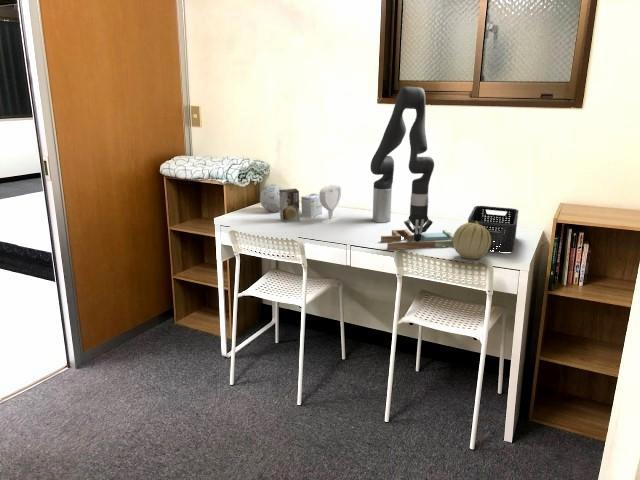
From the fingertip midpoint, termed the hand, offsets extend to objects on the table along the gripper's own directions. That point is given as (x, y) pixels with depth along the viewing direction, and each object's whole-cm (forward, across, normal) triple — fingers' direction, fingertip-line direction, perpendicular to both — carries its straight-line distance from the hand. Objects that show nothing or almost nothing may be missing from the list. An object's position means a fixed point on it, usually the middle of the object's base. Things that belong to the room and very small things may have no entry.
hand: (417, 241), depth 223 cm
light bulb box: (+1, +39, -60) cm, 71 cm away
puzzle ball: (+1, +59, -70) cm, 92 cm away
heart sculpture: (+1, +31, -46) cm, 56 cm away
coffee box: (+1, +52, -49) cm, 72 cm away
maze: (+1, 0, -4) cm, 5 cm away
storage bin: (+2, -33, +3) cm, 33 cm away
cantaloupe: (+1, -15, +21) cm, 26 cm away
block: (+2, -7, 0) cm, 7 cm away
